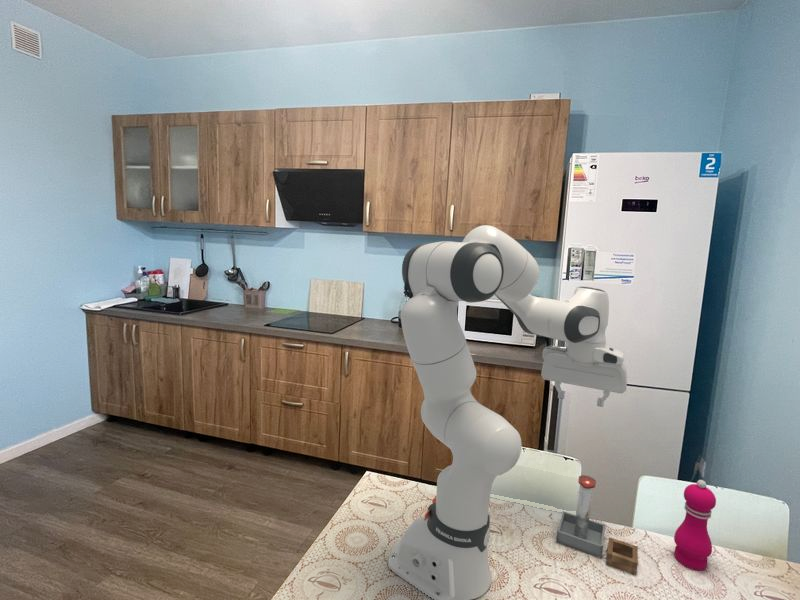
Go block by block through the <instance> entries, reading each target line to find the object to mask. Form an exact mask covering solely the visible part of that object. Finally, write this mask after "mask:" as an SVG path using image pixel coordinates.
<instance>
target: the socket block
mask: <svg viewBox="0 0 800 600" xmlns="http://www.w3.org/2000/svg"><path fill="white" fill-rule="evenodd" d="M606 550H607V551H606V562H605V566H608V567H611V568H614V569H617V570H620V571H622V572H625V573H628V574H630V575H634V576H637V571H638V563H639V562H638V561H639V553H638V550H639V546H637V545H634V544H631V543H627V542H626V541H622V540H619V539H616V538H612V537H610V536H609V537H608V544H607V549H606Z"/></svg>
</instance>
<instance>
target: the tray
mask: <svg viewBox="0 0 800 600" xmlns="http://www.w3.org/2000/svg"><path fill="white" fill-rule="evenodd" d="M575 521H576V514H574V513H570V512H567V511H564V510H563V511H562V513H561V518H560V521H559V523H558V528H557V531H556V543H557V544H559V545H561V546H565V547H567V548H570V549H573V550H576V551H579V552H582V553H584V554H587V555H590V556H592V557H595V558H599V559H601V560H602V558H603V552H604V541H605V534H606V533H605V531H606V524H604V523H602V522H597V521H596V520H592V519H589V527H588V535H587V540H585V539H582V538H579V537H576V536H574V529H575Z"/></svg>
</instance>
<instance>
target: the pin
mask: <svg viewBox="0 0 800 600" xmlns="http://www.w3.org/2000/svg"><path fill="white" fill-rule="evenodd" d="M595 479H596V478H593V477H591V476H590V475H586V474H585V475H583V474H581V475H579V476H578V481H577V482H578V484H579V488H578V495H577V496H578V497H577V504H576V505H577V506H576V513H575V515H576V521H575V529H574V536H576V537H579V538H582V539H585V540H587V535H588V527H589V520H591V518H590V517H591V509H592V501H593V495H594V488H596V485H597V484H596V483H597V480H595Z"/></svg>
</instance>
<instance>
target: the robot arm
mask: <svg viewBox="0 0 800 600" xmlns="http://www.w3.org/2000/svg"><path fill="white" fill-rule="evenodd" d="M401 274H402V275H401V276H402V280H403V285H404V286H403V291H404V293H405V294H406V296H407V297H408V300H407V301H406V302H405V303H404V304H403V306H402V307H401V311H400V322H401V329H402V334H403V337H404V342H405V345H406V348H407V351H408V353H409V357H410V360H411V362H412V364H413V367H414V370H415V372H416V374H417V378H418V380H419V383H420V385H421V388H422V392H423V398H424V399H423V401H422V403H421V405H420V406H421V407H420V418H421V421H422V422H423V424H424V425H425V426H426V428H427V429H428V431H429V432H430V433H431V434H432V436H433V437H434V438H435V439H437V440H438V441H440V442H441V443H442V444H444V446H446V447H447V448H448V449H450V451H451V453H452V464H451V465H448V466H446V467H445V468H444V469H443V470H441V472H440V473H439V475H438V476H437V480H436V495H435V497H434V498H432V500H431V501H432V503H431V504H430V505H429V506H428V507H427V510H426V512H425V514H424V516H421V517H419V518H417V519H415V520H414V521H413V522H412V523H411V524H410V525H409V527H408V528H406V530H405V531H404V533H403V536H401V537H400V538H399V539H398V540H397V541H396V543H395V544H394V546H393V547H392V548H391V550H390V553H389V556H388V559H387V561H388V562H387V567H389V568H390V569H391V570H392V571H391V570H390V569H389V568H388V569H389V570H390V571H391V572H393V573H394V574H396V575H397V576H398V577H400V578H401V579H403V580H404V581H406V582H407V583H408V582H409V584H410V585H411V584H412V586H413V585H414V586H415V587H414V586H413V587H414V588H416V589H417V588H418V589H417V590H419V591H420V592H421V591H422V592H421V593H423V594H424V593H425V594H424V595H426V596H427V595H428V596H427V597H428V598H430V597H431V598H432V599H431V598H430V599H431V600H433V599H434V600H474V599H478V598H480V597H482V596H483V595H484V594H485V593H487V591H488V590H489V589H490V587H491V585H492V572H491V569H490V564H489V557H488V555H489V554H488V545H489V542H490V534H491V533H490V532H491V531H490V530H491V527H490V525H491V523H490V521H491V520H490V518H491V517H490V513H489V511H490V510H489V509H490V498H491V491H492V487H493V483H494V481H495V479H496V478H497V477H498V476H501V475H503V474H506V473H508V472H509V471H511V470H512V469H513V468H514V467H515V466H516V464H517V463H518V462H519V459H520V457H521V452H522V447H523V446H522V438H521V435H520V433H519V432H518V430H517V429H516V428H515V427H514V426H513V425H512V424H511V423H509V421H508V420H507V419H506V418H504V417H503V415H500V414H499V413H497V412H496V411H493V410H492V409H489V408H488V407H486V406H484V405H482V404H481V403H480V402H479V401H478V400H477V399H476V398H475V397H474V396H473V394H472V392H471V387H472V386H473V385H474V383H475V381H476V379H477V369H476V366H475V363H474V359H473V358H472V357H473V356H472V354H471V351H470V349H469V345H468V341H467V339H466V337H465V334H464V331H463V328H462V326H461V323H460V322H459V318H458V303H459V302H466V303H480V302H484V301H488V300H490V299H491V298H492V297H494V296H495V297H497V299H498V300H499V301H500V302H501V303H502V304H503V305H504V306H505V307H506V308H507V309H508V310H509V311H510V312H511V313H512V314H513V315H514V317H515V318H516V320H517V322H518V324H519V326H520V328H521V329H522V330H523V331H524V332H525V334H526V333H527V334H529V335H535V336H540V337H541V336H542V337H545V338H549V339H553V340H557V341H562V342H566V343H567V345H566V346H557V345H551V344H549V345H548V346H546V347H544V348H543V350H542V355H541V356H542V359H543V363H542V367H541V372H540V373H541V374H540V375H541V377H542V380H545V381H551V382H554V387H555V389H556V391H557V399H561V400H564V399H565V394H566V391H565V390H562V387H561V384H562V383H563V384H568V385H573V386H576V387H577V386H579V387H583V388H588V389H595V390H599V391H600V390H601V391H603V396H602V397H597V401H596V402H597V403H596V407H601V408H603V407H604V403H605V401H606V400H607V399H608V398H609V397H610V394H611V393H616V394H622V395H623V394H624V393H625V392H626V391H627V386H628V385H627V384H628V382H627V381H628V380H627V377H628V375H627V367H626V364H625V363H624V360H625V354H624V352H622V351H621V350H619V349H616V348H614V347H612V346H610V345H607V338H606V330H607V327H608V323H609V314H610V310H609V309H610V301H609V296H608V293H607V292H606V290H603V289H600V288H594V287H589V286H578V287H576V288H575V290H574V293H573V295H572V296H571V297H570V298H568V299H565V300H560V299H554V298H547V297H543V296H540V295H536V294H535V295H534V294H531V293H532V292H533V291H534V290H535V289H536V287H537V284H538V283H539V280H540V267H539V264H538V262H537V260H536V259H535V258H534V257H533V255H532V254H531V253H530V252H529V251H528V250H527V249H526V248H525V247H524V246H522V245H521V244H520V243H519V242H518V241H517V240H515V239H514V238H513V237H512V236H510V235H509V234H507V233H506V232H504V231H502V230H501V229H499V228H497V227H495V226H492V225H489V224H483V225H478V226H477V227H475V228H473V229H472V230H470V231H469V232H468V233H467V234H466V235H465V237H464V238H463V240H462V241H461V242H459V241H451V240H448V241H447V240H444V241H436V242H424V243H421V244H417V245H415V246H413V247H412V248H411V249H409V250H408V251H407V253H406V254H405V255H404V257H403V259H402V264H401ZM393 557H394V558H393Z"/></svg>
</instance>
